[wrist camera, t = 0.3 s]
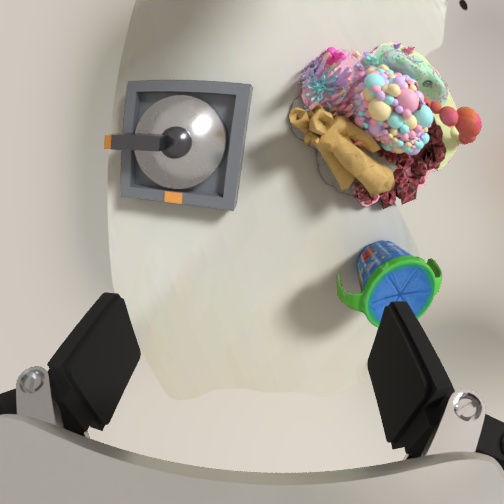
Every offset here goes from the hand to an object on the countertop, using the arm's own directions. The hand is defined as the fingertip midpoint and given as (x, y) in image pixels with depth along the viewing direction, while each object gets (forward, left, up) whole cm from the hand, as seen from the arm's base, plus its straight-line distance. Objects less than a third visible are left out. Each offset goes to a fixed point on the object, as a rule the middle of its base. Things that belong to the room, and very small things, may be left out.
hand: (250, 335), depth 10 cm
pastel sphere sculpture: (-11, +14, -31) cm, 36 cm away
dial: (-3, -13, -28) cm, 31 cm away
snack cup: (+10, +19, -30) cm, 37 cm away
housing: (-3, -12, -30) cm, 32 cm away
